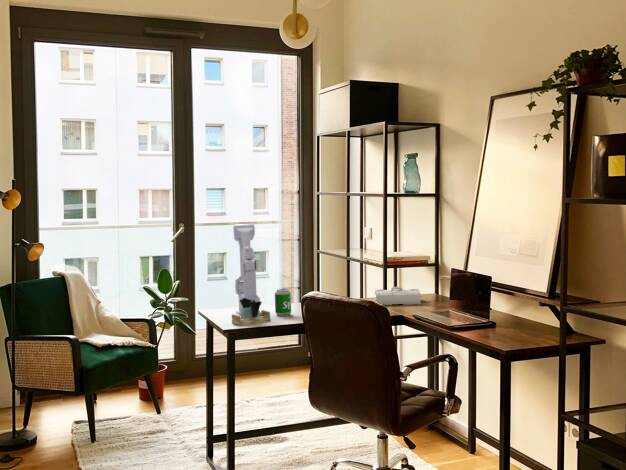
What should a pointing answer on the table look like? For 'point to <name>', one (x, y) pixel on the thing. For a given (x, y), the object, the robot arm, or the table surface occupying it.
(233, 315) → the track sill
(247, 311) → the door panel
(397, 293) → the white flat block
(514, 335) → the table surface
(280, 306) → the soda can
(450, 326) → the table surface
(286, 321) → the table surface
